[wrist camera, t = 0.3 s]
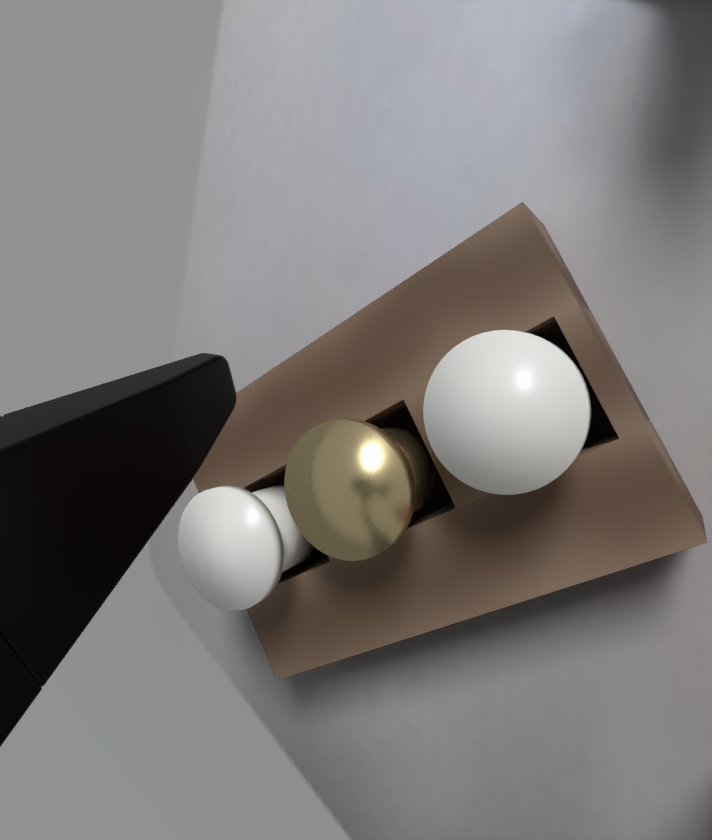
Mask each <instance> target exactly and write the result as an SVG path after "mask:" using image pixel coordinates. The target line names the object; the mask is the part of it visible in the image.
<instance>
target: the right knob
mask: <svg viewBox="0 0 712 840" xmlns="http://www.w3.org/2000/svg"><path fill="white" fill-rule="evenodd" d="M423 418H424V425H425V430H426V434H427V438H428V440H429V443H430V445H431V447H432V449H433V451H434V453H435V455H436V456H437V458H438V459H439V460H440V462H441V463H442V464H443V466H444V467H445V468H446V469H447V470H448V471H449V472H450V473H451V474H453V475H454V476H455V477H456V478H457V479H459V480H460V481H462V482H464V483H465V484H467V485H469V486H471V487H473V488H475V489H478V490H481V491H484V492H488V493H493V494H500V495H514V494H521V493H527V492H530V491H533V490H536V489H539V488H541V487H543V486H545V485H547V484H549V483H550V482H552V481H553V480H555V479H556V478H558V477H559V476H560V475H561V474H562V473H563V472H564V471H565V470H566V469H567V468H568V467H569V466H570V465H571V464H572V463H573V462H574V460H575V459H576V458H577V456H578V455H579V453H580V452H581V450H582V448H583V446H584V443H585V441H586V439H587V435H588V432H589V428H590V421H591V403H590V396H589V392H588V389H587V385H586V383H585V381H584V378H583V376H582V374H581V372H580V371H579V369H578V368H577V366H576V364H575V363H574V362H573V361H572V360H571V358H570V357H569V356H568V355H567V354H566V353H565V352H563V351H562V350H561V349H560V348H559V347H557V346H556V345H554V344H553V343H551V342H549V341H547V340H546V339H544V338H542V337H539V336H536V335H533V334H530V333H525V332H520V331H514V330H495V331H489V332H484V333H481V334H478V335H475V336H472V337H470V338H468V339H466V340H464V341H463V342H461V343H460V344H458V345H457V346H455V347H454V348H453V349H452V350H450V351H449V352H448V353H447V354H446V355H445V356H444V357H443V359H442V360H441V361H440V362H439V364H438V365H437V367H436V368H435V370H434V372H433V374H432V375H431V377H430V380H429V382H428V385H427V388H426V392H425V397H424V405H423Z"/></svg>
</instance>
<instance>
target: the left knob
mask: <svg viewBox="0 0 712 840" xmlns="http://www.w3.org/2000/svg"><path fill="white" fill-rule="evenodd" d="M178 548H179V554H180V558H181V562H182V565H183V568H184V571H185V573H186V575H187V577H188V579H189V580H190V582H191V584H192V585H193V587H194V588H195V589H196V591H197V592H198V593H199V594H200V595H201V596H202V597H203V598H204V599H205V600H207V601H208V602H210V603H211V604H213V605H214V606H216V607H218V608H221V609H224V610H229V611H241V610H245V609H248V608H250V607H252V606H254V605H255V604H257V603H259V602H261V601H262V600H264V599H265V598H267V597H268V596H269V595H270V594H271V593H272V592H273V590H274V589H275V587H276V586H277V584H278V582H279V580H280V577H281V574H282V572H284V571H286V570H287V569H289V568H291V567H293V566H295V565H297V564H299V563H301V562H303V561H304V560H306V559H307V558H308V557H309V556H310V555H311V554H312V552H313V551H314V549H315V547H314V546H313V545H312V544H311V543H309V542H308V541H307V540H306V539H305V537H304V536H303V535H302V534H301V532H300V531H299V529H298V528H297V526H296V525H295V523H294V521H293V519H292V517H291V514H290V512H289V509H288V506H287V502H286V497H285V487H284V485H275V486H271V487H268V488H265V489H261V490H258V491H255V492H249V491H248V490H246V489H243V488H241V487H237V486H231V485H225V486H219V487H216V488H212V489H208V490H205V491H203V492H201V493H199V494H198V495H196V496H195V497H194V498H193V499H192V500H191V501H190V502H189V503H188V505H187V506H186V508H185V510H184V512H183V514H182V517H181V520H180V524H179V530H178Z"/></svg>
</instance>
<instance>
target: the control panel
mask: <svg viewBox="0 0 712 840" xmlns="http://www.w3.org/2000/svg"><path fill="white" fill-rule="evenodd" d="M560 328H561V330H562V332H563V334H564V336H565V338H566V339H567V341H568V343H569V345H570V347H571V349H572V351H573V353H574V354H575V356H576V358H577V360H578V362H579V364H580V366H581V368H582V369H583V371H584V373H585V375H586V377H587V379H588V381H589V383H590V384H591V386H592V388H593V390H594V392H595V394H596V396H597V398H598V399H599V401H600V403H601V405H602V407H603V409H604V411H605V413H606V414H607V416H608V418H609V420H610V422H611V424H612V426H613V428H614V429H615V431H616V433H615V434H612V435H610V436H608V437H605V438H603V439H601V440H598V441H596V442H594V443H591V444H589V445H587V446H584V447H583V448H582V450H581V452H580V453H579V455H578V456H577V458H576V459H575V460H574V462H573V463H572V464H571V465H570V466H569V467H568V468H567V469H566V470H565V471H564V472H563V473H562V474H561V475H560V476H559V477H558V478H556V479H555V480H553V481H552V482H550V483H549V484H547V485H545V486H543V487H541V488H539V489H536V490H533V491H530V492H527V493H521V494H514V495H500V494H493V493H488V492H484V491H481V490H478V489H475V488H473V487H471V486H469V485H467V484H465V483H464V482H462V481H460V480H459V479H457V478H456V477H455V476H454V475H453V474H451V473H450V472H449V471H448V470H447V469H446V468H445V467H444V466H443V464H442V463H441V462H440V460H439V459H438V458H437V456H436V455H435V453H434V451H433V449H432V447H431V445H430V443H429V440H428V438H427V434H426V430H425V425H424V418H423V405H424V397H425V392H426V388H427V385H428V382H429V380H430V377H431V375H432V374H433V372H434V370H435V368H436V367H437V365H438V364H439V362H440V361H441V360H442V359H443V357H444V356H445V355H446V354H447V353H448V352H449V351H450V350H452V349H453V348H454V347H455V346H457V345H458V344H460V343H461V342H463V341H464V340H466V339H468V338H470V337H472V336H475V335H478V334H481V333H484V332H489V331H495V330H514V331H520V332H525V333H530V334H533V335H536V336H539V337H542V338H543V337H545V336H547V335H549V334H551V333H553V332H555V331H556V330H558V329H560ZM408 410H409V412H410V414H411V416H412V418H413V420H414V422H415V424H416V426H417V428H418V431H419V433H420V435H421V437H422V439H423V441H424V443H425V445H426V447H427V449H428V451H429V453H430V456H431V458H432V460H433V462H434V464H435V466H436V468H437V470H438V472H439V474H440V476H441V478H442V481H443V483H444V485H445V487H446V489H447V491H448V493H449V495H450V497H451V499H452V501H453V503H452V504H450V505H448V506H445V507H443V508H441V509H438V510H436V511H434V512H431V513H429V514H427V515H425V516H422V517H420V518H418V519H415V520H413V521H411V522H410V523H409V525H408V527H407V528H406V530H405V532H404V533H403V535H402V536H401V537H400V538H399V539H398V540H397V541H396V542H395V543H394V544H393V545H392V546H390V547H389V548H387V549H386V550H384V551H383V552H381V553H380V554H378V555H376V556H374V557H371V558H368V559H365V560H359V561H346V560H340V559H337V558H333V557H331V556H329V555H327V556H328V557H327V558H325V559H323V560H320V561H318V562H316V563H313V564H311V565H309V566H306V567H304V568H302V569H299V567H298V565H295V566H293V567H291V568H289V569H287V570H286V571H284V572H282V574H281V577H280V580H279V582H278V584H277V586H276V587H275V589H274V590H273V592H272V593H271V594H270V595H269V596H268V597H267V598H265V599H264V600H262V601H261V602H259V603H257V604H255V605H254V606H252V607H250V608H248V609H247V610H248V613H249V615H250V617H251V620H252V622H253V625H254V627H255V630H256V632H257V634H258V637H259V639H260V642H261V644H262V646H263V649H264V651H265V654H266V656H267V659H268V661H269V663H270V666H271V668H272V671H273V673H274V676H275V678H276V680H279V679H282V678H285V677H288V676H292V675H295V674H298V673H301V672H304V671H307V670H310V669H313V668H317V667H320V666H323V665H326V664H329V663H332V662H335V661H338V660H342V659H345V658H348V657H351V656H354V655H357V654H360V653H363V652H367V651H370V650H373V649H376V648H379V647H382V646H385V645H389V644H392V643H395V642H398V641H401V640H404V639H407V638H410V637H414V636H417V635H420V634H423V633H426V632H429V631H432V630H435V629H439V628H442V627H445V626H448V625H451V624H454V623H457V622H460V621H464V620H467V619H470V618H473V617H476V616H479V615H482V614H485V613H489V612H492V611H495V610H498V609H501V608H504V607H507V606H510V605H514V604H517V603H520V602H523V601H526V600H529V599H532V598H536V597H539V596H542V595H545V594H548V593H551V592H554V591H557V590H561V589H564V588H567V587H570V586H573V585H576V584H579V583H582V582H586V581H589V580H592V579H595V578H598V577H601V576H604V575H607V574H611V573H614V572H617V571H620V570H623V569H626V568H629V567H632V566H636V565H639V564H642V563H645V562H648V561H651V560H654V559H657V558H661V557H664V556H667V555H670V554H673V553H676V552H679V551H683V550H686V549H689V548H692V547H695V546H698V545H701V544H704V543H707V539H706V533H705V528H704V523H703V518H702V515H701V513H700V511H699V509H698V507H697V506H696V504H695V502H694V500H693V498H692V496H691V495H690V493H689V491H688V489H687V487H686V485H685V484H684V482H683V480H682V478H681V476H680V474H679V472H678V471H677V469H676V467H675V465H674V463H673V461H672V460H671V458H670V456H669V454H668V452H667V450H666V449H665V447H664V445H663V443H662V441H661V439H660V438H659V436H658V434H657V432H656V430H655V428H654V427H653V425H652V423H651V421H650V419H649V417H648V416H647V414H646V412H645V410H644V408H643V406H642V405H641V403H640V401H639V399H638V397H637V395H636V393H635V392H634V390H633V388H632V386H631V384H630V382H629V381H628V379H627V377H626V375H625V373H624V371H623V370H622V368H621V366H620V364H619V362H618V360H617V359H616V357H615V355H614V353H613V351H612V349H611V348H610V346H609V344H608V342H607V340H606V338H605V337H604V335H603V333H602V331H601V329H600V327H599V326H598V324H597V322H596V320H595V318H594V316H593V314H592V313H591V311H590V309H589V307H588V305H587V303H586V302H585V300H584V298H583V296H582V294H581V292H580V291H579V289H578V287H577V285H576V283H575V281H574V280H573V278H572V276H571V274H570V272H569V270H568V269H567V267H566V265H565V263H564V261H563V259H562V258H561V256H560V254H559V252H558V250H557V248H556V247H555V245H554V243H553V241H552V239H551V237H550V235H549V234H548V232H547V230H546V228H545V226H544V224H543V223H542V222H541V221H540V220H539V219H538V218H537V217H536V216H535V215H534V214H533V213H532V211H531V210H530V209H529V208H528V207H527V206H526V205H525V204H524V203H523V202H522V203H520V204H519V205H517V206H516V207H514V208H513V209H511V210H510V211H508V212H507V213H505V214H504V215H502V216H501V217H499V218H498V219H496V220H495V221H493V222H492V223H490V224H489V225H487V226H486V227H484V228H483V229H481V230H480V231H478V232H477V233H475V234H474V235H472V236H471V237H469V238H468V239H466V240H465V241H463V242H462V243H460V244H459V245H457V246H456V247H454V248H453V249H451V250H450V251H448V252H447V253H445V254H444V255H442V256H441V257H439V258H438V259H436V260H435V261H433V262H432V263H430V264H429V265H427V266H426V267H424V268H423V269H421V270H420V271H418V272H417V273H415V274H414V275H412V276H411V277H409V278H408V279H406V280H405V281H403V282H402V283H400V284H399V285H397V286H396V287H394V288H393V289H391V290H390V291H388V292H387V293H385V294H384V295H382V296H381V297H379V298H378V299H376V300H375V301H373V302H372V303H370V304H369V305H367V306H366V307H364V308H363V309H361V310H360V311H358V312H357V313H355V314H354V315H352V316H351V317H349V318H348V319H346V320H345V321H344V322H342V323H341V324H339V325H338V326H336V327H335V328H333V329H332V330H330V331H329V332H327V333H326V334H324V335H323V336H321V337H320V338H318V339H317V340H315V341H314V342H312V343H311V344H309V345H308V346H306V347H305V348H303V349H302V350H300V351H299V352H297V353H296V354H294V355H293V356H291V357H290V358H288V359H287V360H285V361H284V362H282V363H281V364H279V365H278V366H276V367H275V368H273V369H272V370H270V371H269V372H267V373H266V374H264V375H263V376H261V377H260V378H258V379H257V380H255V381H254V382H252V383H251V384H249V385H248V386H246V387H245V388H243V389H242V390H240V391H239V392H237V393H236V405H235V408H234V410H233V412H232V413H231V415H230V417H229V419H228V420H227V422H226V424H225V426H224V427H223V429H222V431H221V432H220V434H219V436H218V438H217V439H216V441H215V443H214V445H213V446H212V448H211V450H210V452H209V453H208V455H207V457H206V458H205V460H204V462H203V464H202V465H201V467H200V468H199V470H198V472H197V473H196V475H195V476H194V478H193V480H194V482H195V484H196V487H197V489H198V492H199V493H201V492H203V491H205V490H208V489H212V488H216V487H219V486H225V485H231V486H237V487H241V488H243V489H246V490H248V491H249V492H255V491H258V490H261V489H265V488H266V487H268V486H269V485H271V484H273V483H275V482H277V481H279V480H280V479H282V478H284V477H285V470H286V465H287V462H288V459H289V456H290V454H291V452H292V450H293V448H294V446H295V445H296V443H297V442H298V441H299V439H300V438H301V437H302V436H303V435H304V434H305V433H306V432H307V431H309V430H310V429H312V428H313V427H315V426H317V425H319V424H322V423H325V422H329V421H335V420H341V419H356V420H362V421H365V422H368V423H370V424H373V425H375V426H377V427H379V426H380V425H382V424H384V423H386V422H388V421H390V420H392V419H393V418H395V417H397V416H399V415H401V414H403V413H405V412H406V411H408Z"/></svg>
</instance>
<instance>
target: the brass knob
mask: <svg viewBox="0 0 712 840" xmlns="http://www.w3.org/2000/svg"><path fill="white" fill-rule="evenodd" d="M434 483H435V468H434V463H433V460H432V458H431V456H430V453H429V451H428V449H427V448H426V446H425V445H424V443H423V442H422V441H421V440H420V439H419V438H418V437H416V436H415V435H414V434H412V433H410V432H409V431H406V430H404V429H401V428H396V427H386V428H378V427H377V426H375V425H373V424H370V423H368V422H365V421H362V420H356V419H341V420H335V421H329V422H325V423H322V424H319V425H317V426H315V427H313V428H312V429H310V430H309V431H307V432H306V433H305V434H304V435H303V436H302V437H301V438H300V439H299V441H298V442H297V443H296V445H295V446H294V448H293V450H292V452H291V454H290V456H289V459H288V462H287V465H286V470H285V479H284V487H285V497H286V502H287V506H288V509H289V512H290V514H291V517H292V519H293V521H294V523H295V525H296V526H297V528H298V529H299V531H300V532H301V534H302V535H303V536H304V537H305V539H306V540H307V541H308V542H309V543H311V544H312V545H313V546H314V547H315V548H317V549H318V550H319V551H321V552H323V553H324V554H326V555H329V556H331V557H333V558H337V559H340V560H346V561H359V560H365V559H368V558H371V557H374V556H376V555H378V554H380V553H381V552H383V551H384V550H386V549H387V548H389V547H390V546H392V545H393V544H394V543H395V542H396V541H397V540H398V539H399V538H400V537H401V536H402V535H403V533H404V532H405V530H406V528H407V527H408V525H409V523H410V520H411V517H412V514H413V513H414V512H416V511H418V510H419V509H420V508H422V507H423V506H424V505H425V503H426V502H427V501H428V499H429V497H430V496H431V493H432V491H433V488H434Z"/></svg>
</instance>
